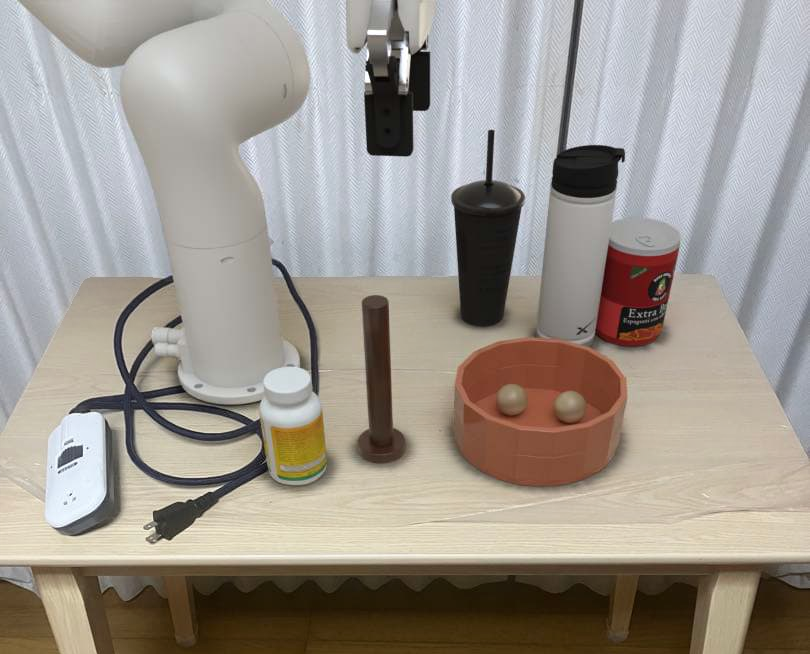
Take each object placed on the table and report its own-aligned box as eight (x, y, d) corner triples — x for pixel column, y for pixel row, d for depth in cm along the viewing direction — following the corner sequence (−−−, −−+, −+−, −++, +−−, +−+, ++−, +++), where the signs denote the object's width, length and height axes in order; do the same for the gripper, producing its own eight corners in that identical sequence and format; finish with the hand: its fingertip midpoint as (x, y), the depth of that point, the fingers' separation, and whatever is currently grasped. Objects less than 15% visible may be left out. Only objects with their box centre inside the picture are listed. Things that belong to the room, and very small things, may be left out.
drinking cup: (508, 336, 95) (522, 147, 81) (441, 328, 96) (443, 140, 83) (521, 304, 100) (536, 121, 86) (457, 296, 102) (462, 115, 88)
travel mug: (595, 358, 91) (625, 163, 77) (533, 352, 92) (551, 159, 78) (597, 328, 96) (626, 139, 82) (538, 323, 97) (556, 136, 83)
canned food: (621, 355, 91) (639, 256, 84) (575, 322, 97) (588, 226, 89) (677, 336, 94) (698, 238, 87) (629, 305, 99) (645, 210, 92)
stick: (354, 461, 79) (342, 312, 69) (363, 433, 82) (353, 286, 72) (401, 465, 78) (397, 316, 68) (408, 436, 82) (405, 289, 71)
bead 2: (551, 428, 81) (555, 401, 79) (552, 409, 83) (556, 383, 81) (584, 430, 81) (588, 403, 79) (584, 412, 83) (588, 385, 81)
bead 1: (493, 420, 82) (495, 394, 80) (496, 402, 84) (498, 376, 82) (525, 423, 82) (528, 396, 80) (527, 405, 84) (529, 378, 82)
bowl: (445, 478, 77) (446, 423, 73) (463, 385, 88) (465, 332, 84) (618, 493, 75) (629, 437, 71) (615, 396, 86) (624, 342, 82)
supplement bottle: (256, 469, 78) (241, 378, 72) (302, 443, 81) (291, 354, 75) (294, 496, 76) (281, 404, 69) (340, 468, 78) (332, 378, 72)
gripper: (357, -180, 58) (369, 93, 70) (299, -155, 46) (326, 173, 58) (468, -182, 58) (462, 95, 69) (440, -157, 45) (437, 176, 57)
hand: (400, 130), depth 63 cm, fingers open, 9 cm apart
